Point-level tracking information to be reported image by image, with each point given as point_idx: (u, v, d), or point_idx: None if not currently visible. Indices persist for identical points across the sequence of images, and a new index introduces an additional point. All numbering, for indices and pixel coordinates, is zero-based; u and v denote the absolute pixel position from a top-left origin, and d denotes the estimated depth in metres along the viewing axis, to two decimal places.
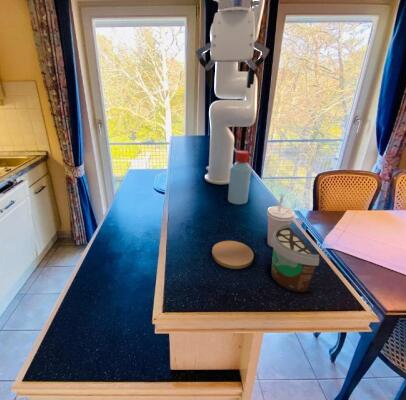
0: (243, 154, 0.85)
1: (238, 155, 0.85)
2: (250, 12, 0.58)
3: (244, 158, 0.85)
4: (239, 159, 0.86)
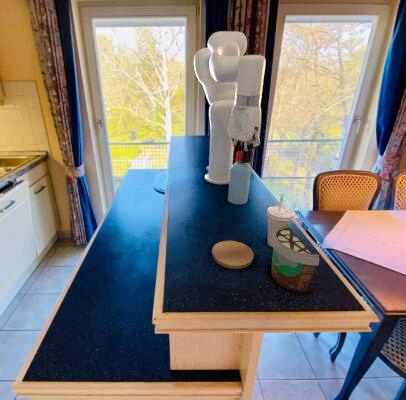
0: None
1: (238, 155, 0.85)
2: None
3: None
4: (239, 159, 0.86)
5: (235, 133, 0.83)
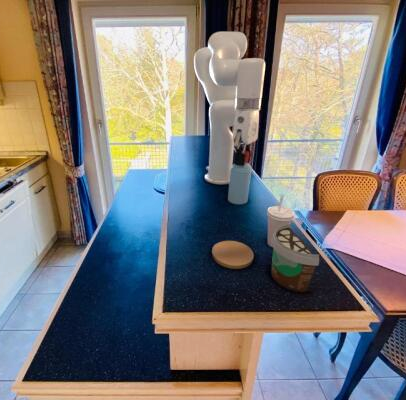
0: None
1: (248, 154, 0.85)
2: (236, 111, 0.79)
3: None
4: None
5: (252, 137, 0.81)
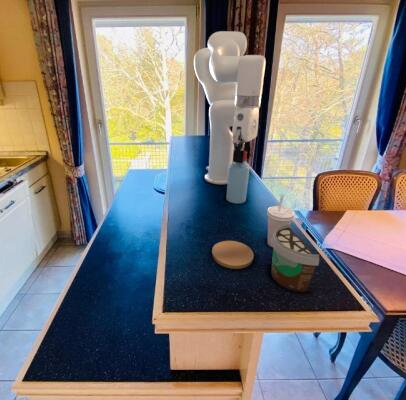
0: None
1: (246, 153, 0.86)
2: (236, 108, 0.79)
3: None
4: None
5: (252, 134, 0.81)
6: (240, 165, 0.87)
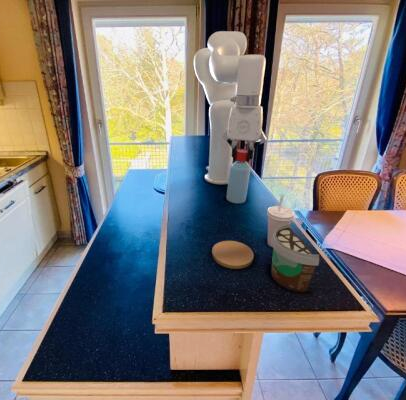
0: None
1: None
2: None
3: None
4: None
5: (239, 134, 0.82)
6: (241, 165, 0.86)
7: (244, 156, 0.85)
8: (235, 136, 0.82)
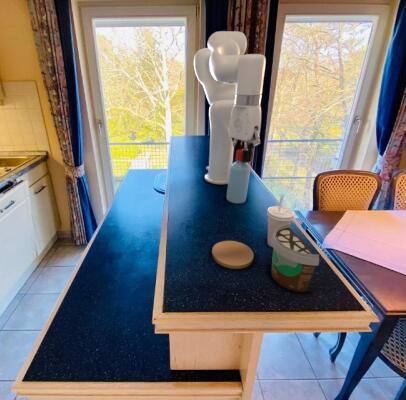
0: None
1: None
2: None
3: (236, 154, 0.87)
4: None
5: (235, 132, 0.83)
6: (241, 165, 0.86)
7: None
8: (232, 134, 0.84)
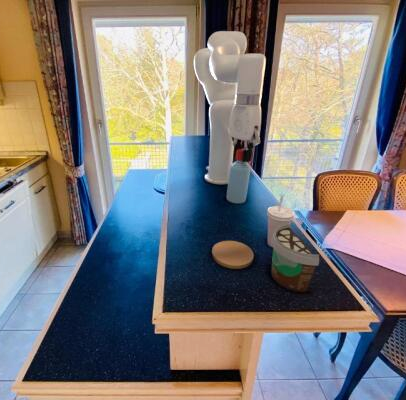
0: None
1: (238, 153, 0.85)
2: None
3: None
4: (239, 158, 0.85)
5: (235, 132, 0.83)
6: (241, 165, 0.86)
7: None
8: (232, 134, 0.84)
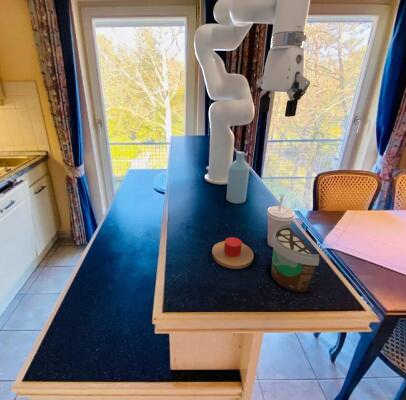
0: None
1: None
2: (290, 49, 0.63)
3: None
4: None
5: None
6: (240, 165, 0.87)
7: (238, 250, 0.62)
8: None
